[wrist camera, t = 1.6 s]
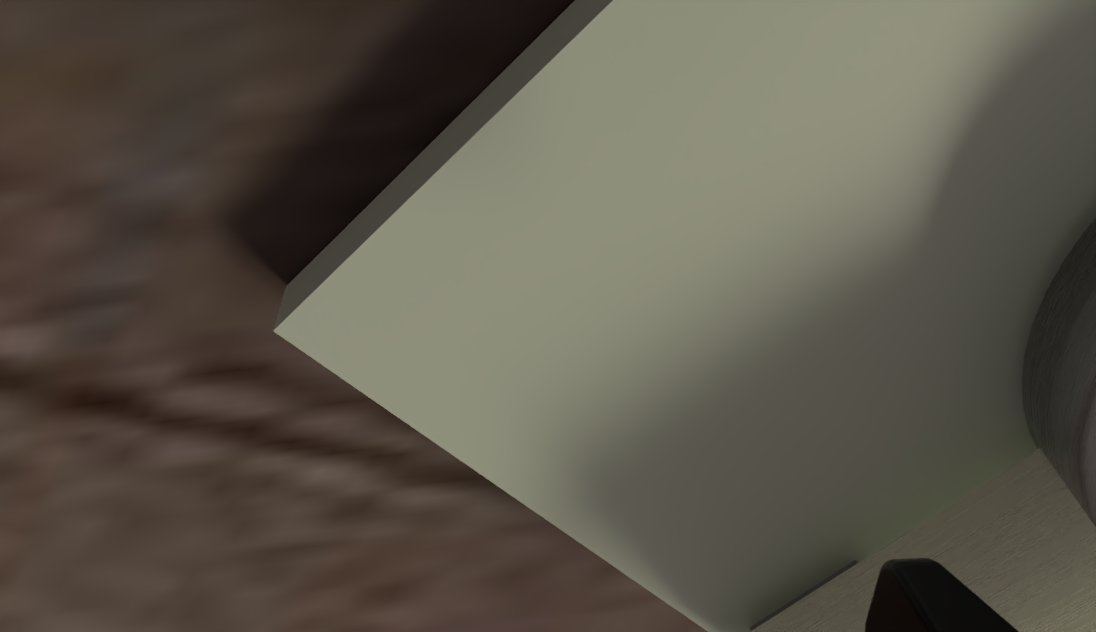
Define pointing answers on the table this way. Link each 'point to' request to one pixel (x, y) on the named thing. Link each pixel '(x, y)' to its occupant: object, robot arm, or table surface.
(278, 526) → the table surface
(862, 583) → the dial
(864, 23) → the dial plate
